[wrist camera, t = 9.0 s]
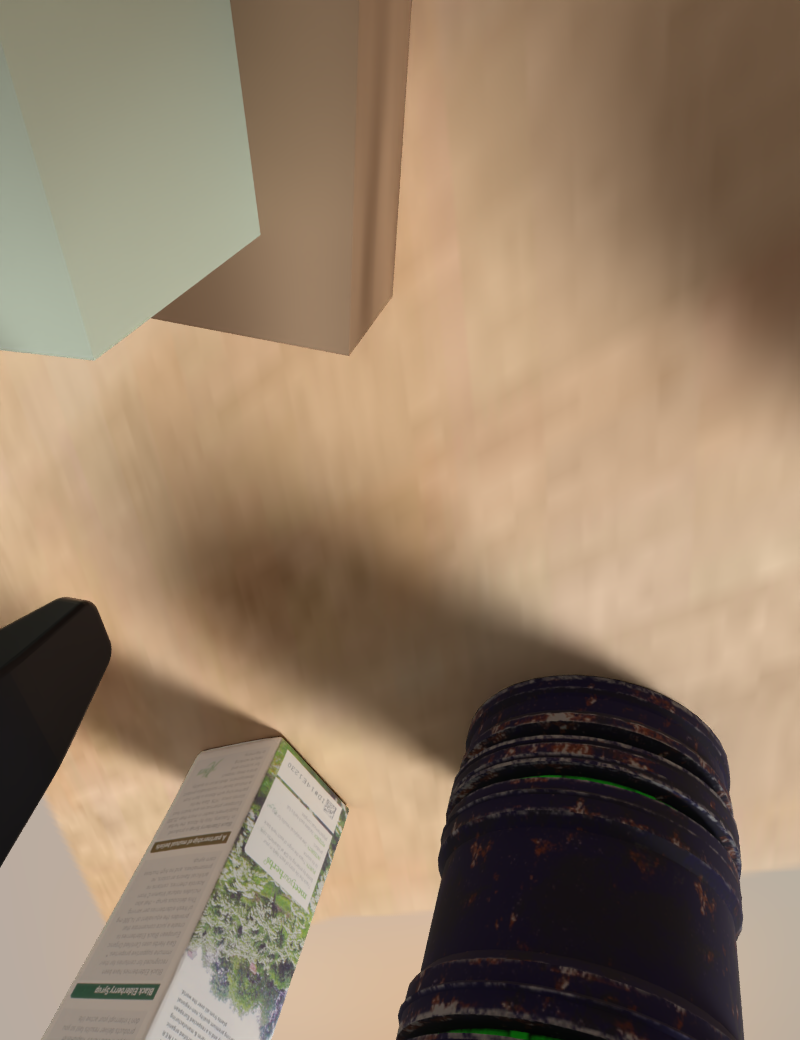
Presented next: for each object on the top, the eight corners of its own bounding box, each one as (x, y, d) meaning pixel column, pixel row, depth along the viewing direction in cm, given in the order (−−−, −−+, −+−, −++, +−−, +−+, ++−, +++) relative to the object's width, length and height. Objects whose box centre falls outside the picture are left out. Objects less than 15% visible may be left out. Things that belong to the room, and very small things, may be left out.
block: (428, -176, 14) (365, -207, 11) (396, 290, 20) (349, 356, 17) (4, -205, 15) (-156, -241, 12) (89, 237, 21) (-7, 288, 18)
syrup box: (195, 749, 36) (-10, 1112, 25) (286, 731, 33) (99, 1135, 22) (266, 818, 38) (108, 1179, 27) (357, 807, 35) (221, 1207, 24)
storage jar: (414, 718, 30) (266, 1201, 18) (631, 636, 24) (610, 1257, 13) (563, 853, 33) (515, 1339, 21) (786, 808, 27) (880, 1433, 16)
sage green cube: (219, -75, 12) (-35, -82, 8) (260, 235, 15) (94, 360, 11) (-34, -67, 13) (-389, -70, 9) (51, 220, 16) (-181, 329, 12)
